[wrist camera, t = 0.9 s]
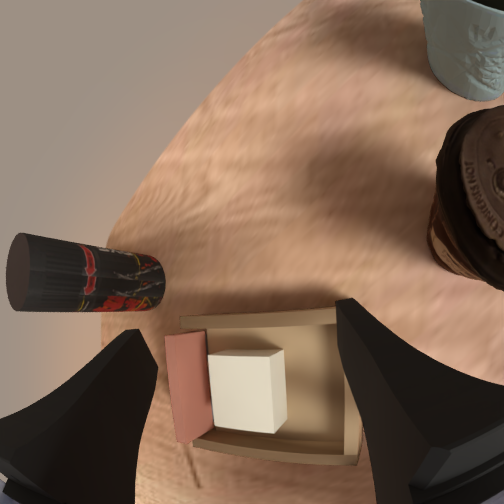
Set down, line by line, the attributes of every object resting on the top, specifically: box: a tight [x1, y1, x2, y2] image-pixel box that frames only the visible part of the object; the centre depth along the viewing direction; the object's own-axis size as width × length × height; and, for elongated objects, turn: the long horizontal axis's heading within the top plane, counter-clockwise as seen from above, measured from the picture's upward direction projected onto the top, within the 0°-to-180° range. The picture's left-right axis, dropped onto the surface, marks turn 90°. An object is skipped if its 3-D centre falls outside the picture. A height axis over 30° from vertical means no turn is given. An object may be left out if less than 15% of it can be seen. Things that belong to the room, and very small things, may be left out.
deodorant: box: [6, 233, 165, 312], centre depth 24 cm, size 6×6×15 cm
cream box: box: [208, 349, 287, 434], centre depth 22 cm, size 6×5×3 cm
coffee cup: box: [427, 105, 504, 291], centre depth 13 cm, size 9×8×13 cm
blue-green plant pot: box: [420, 0, 504, 102], centre depth 14 cm, size 10×10×12 cm
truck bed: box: [180, 307, 363, 465], centre depth 22 cm, size 12×14×4 cm
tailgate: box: [164, 331, 214, 444], centre depth 24 cm, size 9×1×6 cm, turn 4°
